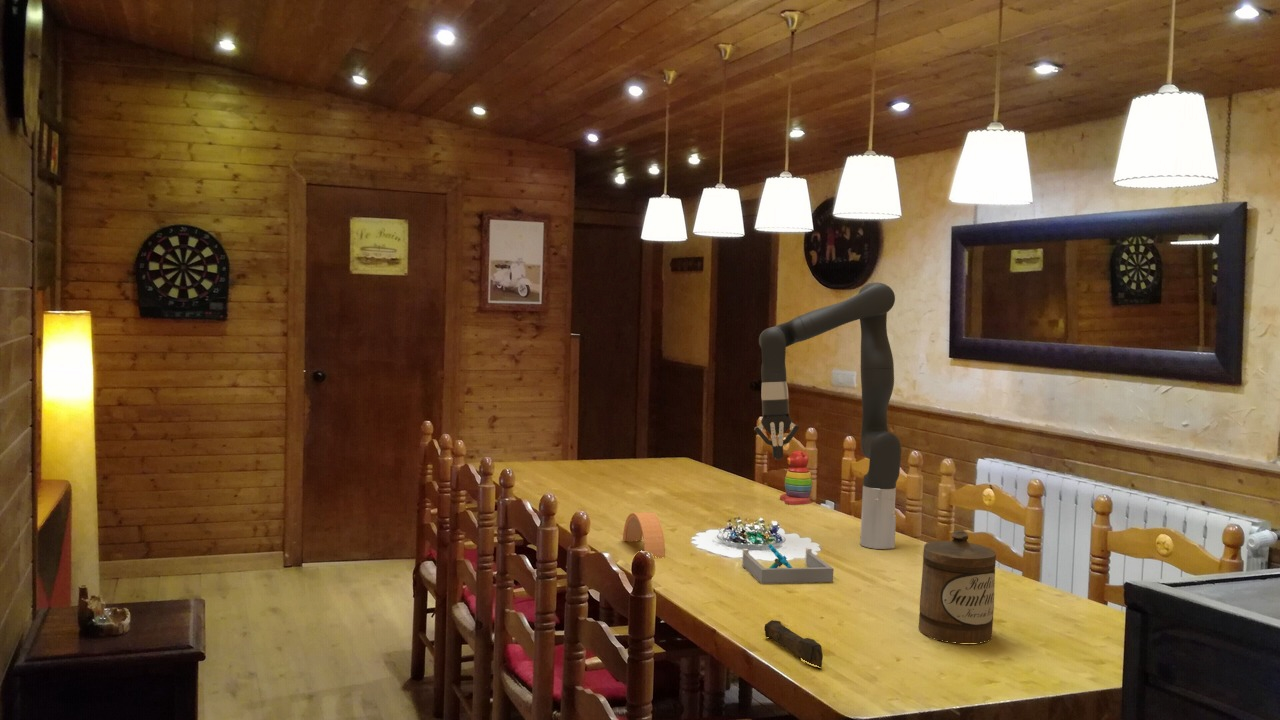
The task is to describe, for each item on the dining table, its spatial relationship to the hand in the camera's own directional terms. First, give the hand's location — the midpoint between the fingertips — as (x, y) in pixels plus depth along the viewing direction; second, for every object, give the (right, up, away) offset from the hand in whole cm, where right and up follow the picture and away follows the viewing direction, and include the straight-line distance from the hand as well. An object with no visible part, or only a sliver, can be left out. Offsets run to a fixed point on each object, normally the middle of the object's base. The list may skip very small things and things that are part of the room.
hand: (778, 459), depth 281 cm
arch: (-38, -24, -8) cm, 46 cm away
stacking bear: (+15, -21, +65) cm, 70 cm away
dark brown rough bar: (-8, -30, -85) cm, 91 cm away
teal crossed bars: (-3, -27, -28) cm, 39 cm away
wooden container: (+28, -30, -70) cm, 81 cm away
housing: (-2, -26, -28) cm, 38 cm away
